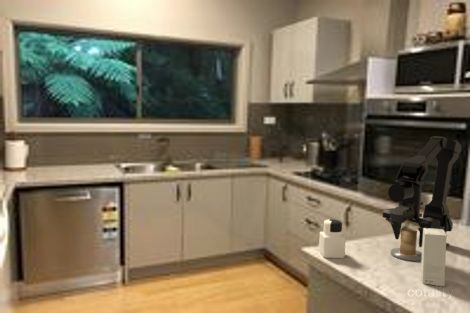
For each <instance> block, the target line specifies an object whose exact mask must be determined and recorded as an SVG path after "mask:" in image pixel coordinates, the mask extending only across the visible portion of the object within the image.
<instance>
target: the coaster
mask: <svg viewBox="0 0 470 313" xmlns="http://www.w3.org/2000/svg"><path fill="white" fill-rule="evenodd" d="M390 255H391V256H392V257H394V258H395V259H399V260H402V261H406V262H407V261H408V262H421V261H422V251H419V250H417V249H416V254H415V255H413V256H409V255H404V254H401V253H400V247H397V248H396V247H395V248H392V249H391V250H390Z"/></svg>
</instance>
